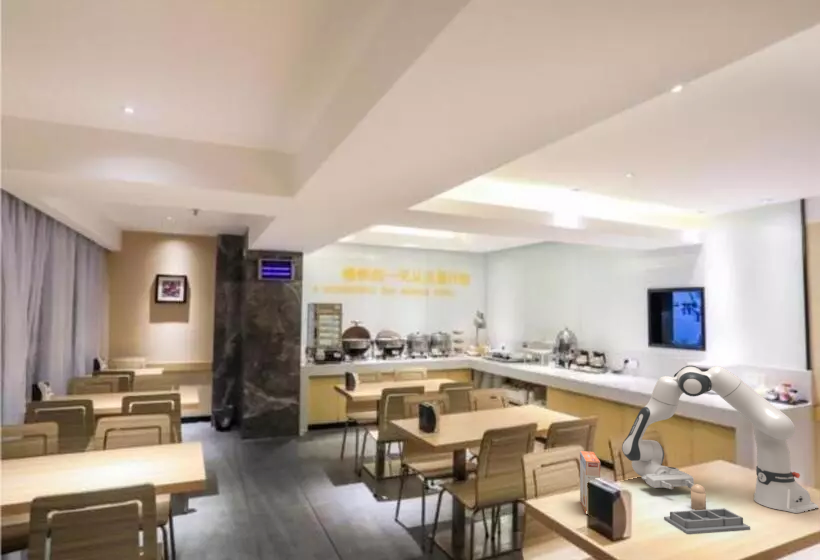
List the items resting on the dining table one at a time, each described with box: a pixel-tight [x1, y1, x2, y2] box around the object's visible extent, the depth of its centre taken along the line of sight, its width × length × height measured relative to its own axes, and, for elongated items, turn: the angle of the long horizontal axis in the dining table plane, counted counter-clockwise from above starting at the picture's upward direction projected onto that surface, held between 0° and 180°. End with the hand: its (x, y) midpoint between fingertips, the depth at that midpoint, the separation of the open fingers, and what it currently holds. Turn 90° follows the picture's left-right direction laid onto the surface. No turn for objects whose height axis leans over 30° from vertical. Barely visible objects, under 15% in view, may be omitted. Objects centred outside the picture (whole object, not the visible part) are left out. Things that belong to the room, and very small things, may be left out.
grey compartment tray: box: [663, 508, 751, 535], centre depth 177 cm, size 26×12×4 cm, turn 99°
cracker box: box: [579, 450, 601, 513], centre depth 191 cm, size 14×6×21 cm, turn 168°
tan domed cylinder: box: [690, 483, 707, 510], centre depth 191 cm, size 5×5×10 cm
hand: (682, 486), depth 200 cm, fingers open, 8 cm apart
